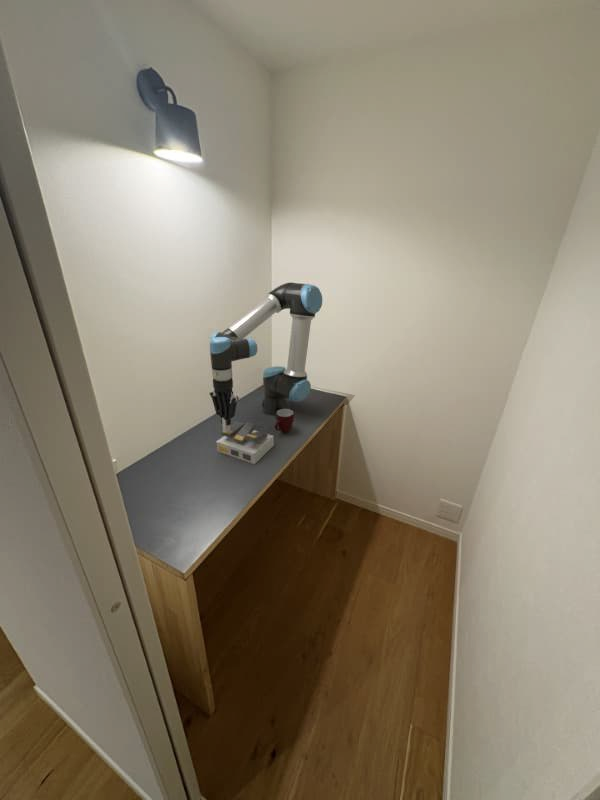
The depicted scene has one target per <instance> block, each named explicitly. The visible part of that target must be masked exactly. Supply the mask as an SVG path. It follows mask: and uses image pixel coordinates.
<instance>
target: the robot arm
mask: <svg viewBox="0 0 600 800" xmlns="http://www.w3.org/2000/svg"><path fill="white" fill-rule="evenodd" d="M322 307H323V294H322V291H320V288H319V287H318V286H317V285H314V284H309V283H298V282H286V283H283V284H280V285H278V286H277V287H275V288H274V289H272V290H271V291H269V293H267V294H266V295H265V296H264V299H263V300H262V301H261V302H259V303H258V304H256V306H255V307H253V308H251V309H250V310H249V311H248V312H246V313H245V314H244V315H243V316H241V317H240V318H239V319H237V320H236V321H235V322H233V323H232V324H231V325H230V326H229V327H227V328H226V329H224V331H221V332H220V331H219V332H217V331H216V332H214V333H213V334H212V335H211V337H210V339H209V340H210V341H209V355H210V362H211V363H210V365H211V375H212V387H213V391H211V392H209V395H210V398H211V400H212V404H213V408H214V411H215V414H216V415H217V416H219V418H220V422H221V425H222V431H223V432H224V433H227V432H228V431H230V425H232V424H231V423H232V418H234V417H235V416H236V415H235V414H236V408H237V402H238V400H239V396H236V395H235V394H234V391H233V387H234V382H233V381H234V380H233V365H232V364H233V362H235V361H236V362H237V361H240V360H244V359H250V358H252V357H255V356H256V355H257V353H258V344H257V342H256V341H255V339H253V338H252V337H251V338H250V337H248V338H247V336H248V335H250V334H251V333H252V332H254V331H255V330H256V329H257V328H259V327H260V326H261V325H262V324H263V323H264V322H266V321H267V320H268V319H270V318H271V317H273V315H274V314H276V313H277V314H279V313H281V311H283V310H286V309H287V310H288V309H289V315H290V316H291V318H292V319H291V320H292V321H291V330H290V339H289V346H288V347H289V349H288V357H287V366H286V367H285V366H278V365H277V366H270V367H267V368H265V369H264V370H263V372H262V381H263V382H262V383H263V399H262V401H261V406H260V407H261V411H262V413H265V415H271V416H276V412H277V411H278V410H280V409H290V402H289V400H290V401H292V402H297V403H300V402H302V401H304V400H306V398H307V397H308V395H309V394H310V392H311V388H312V385H311V382H310V381H309V380H308V373H307V372H306V371H305V370H306V362H307V356H308V348H309V340H310V332H311V324H312V320H314V319H315V318H316V314H317V313H318V312H320V309H322ZM288 399H289V400H288Z"/></svg>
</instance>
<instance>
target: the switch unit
mask: <svg viewBox="0 0 600 800" xmlns="http://www.w3.org/2000/svg"><path fill="white" fill-rule="evenodd" d="M257 431H258V430H255V429H254V430H253V431H252V433H254V432H257ZM237 433H238V432H237ZM237 433H236V434H235V435H233V436H232V437H231V438H229V437H226V436H223V435H222V437H221V438H219V439H218V440H216V441H215V443H216V449H217V452H219V453H220V454H224V455H227V456H228V457H232V458H235V459H238V460H241V461H244V462H247V463H249V464H252V465H255V464H257V462H258V461H260V460H261V458H263V457H264V456H265V454H267V453H268V452H269V451H270V450H271V449H272V448H273V447H274V443H275V440H274V435H272V434H269V433H268V435H267V437H266V438H263V439H261V440H258V441H256V442H252V441H249V440H246V441H245V442H244V443H243V444H242V443H238V442H235V441H234V437H235V436H236V435H237Z"/></svg>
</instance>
